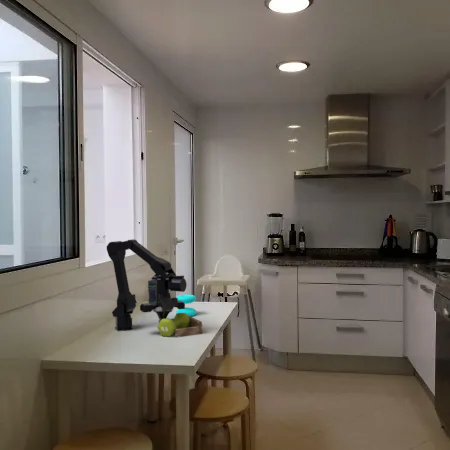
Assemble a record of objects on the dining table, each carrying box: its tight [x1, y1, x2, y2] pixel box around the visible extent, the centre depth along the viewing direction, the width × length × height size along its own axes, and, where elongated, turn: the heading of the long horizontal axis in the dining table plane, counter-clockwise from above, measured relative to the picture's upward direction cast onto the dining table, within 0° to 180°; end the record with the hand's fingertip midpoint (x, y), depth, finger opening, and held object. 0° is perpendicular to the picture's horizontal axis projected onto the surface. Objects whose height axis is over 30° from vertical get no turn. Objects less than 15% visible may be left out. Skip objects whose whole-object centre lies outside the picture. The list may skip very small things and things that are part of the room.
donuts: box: [175, 293, 197, 317], centre depth 250 cm, size 10×10×10 cm
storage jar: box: [147, 279, 161, 311], centre depth 271 cm, size 10×10×15 cm
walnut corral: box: [158, 316, 203, 338], centre depth 218 cm, size 12×22×5 cm, turn 26°
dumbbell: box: [157, 313, 190, 337], centre depth 214 cm, size 16×8×7 cm, turn 154°
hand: (162, 326), depth 216 cm, fingers closed
